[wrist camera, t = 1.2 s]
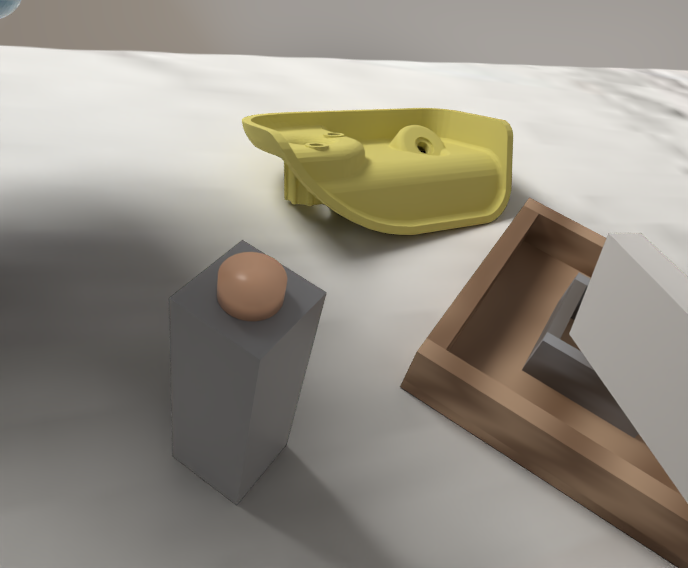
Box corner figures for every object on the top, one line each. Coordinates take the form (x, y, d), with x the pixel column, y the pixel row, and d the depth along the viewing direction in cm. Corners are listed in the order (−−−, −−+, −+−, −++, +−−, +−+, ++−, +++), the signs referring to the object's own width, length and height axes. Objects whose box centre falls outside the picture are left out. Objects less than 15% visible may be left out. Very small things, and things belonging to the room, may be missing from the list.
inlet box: (400, 386, 35) (418, 348, 32) (510, 232, 47) (531, 194, 44) (702, 583, 31) (753, 557, 28) (741, 358, 42) (780, 325, 40)
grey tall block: (172, 456, 30) (168, 278, 20) (226, 401, 32) (244, 221, 23) (236, 505, 29) (263, 341, 20) (286, 444, 31) (331, 274, 22)
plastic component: (439, 107, 53) (524, 123, 45) (431, 190, 56) (510, 219, 48) (221, 114, 44) (281, 136, 36) (225, 214, 46) (281, 255, 39)
